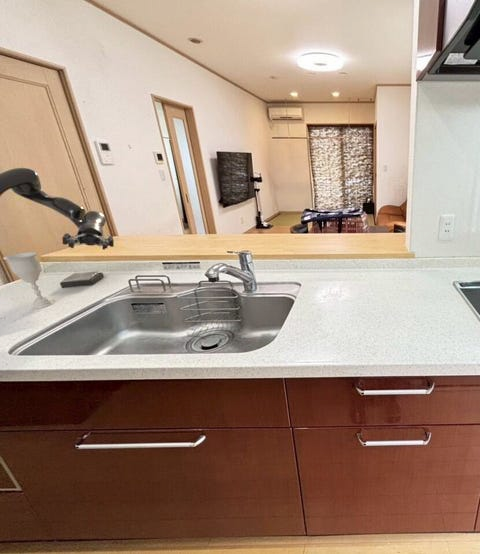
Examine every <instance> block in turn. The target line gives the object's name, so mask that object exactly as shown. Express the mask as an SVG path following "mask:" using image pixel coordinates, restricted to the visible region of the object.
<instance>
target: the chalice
mask: <svg viewBox="0 0 480 554" xmlns="http://www.w3.org/2000/svg"><path fill="white" fill-rule="evenodd" d="M2 259H3V260H5V262H7V263H8V266H9V268H10V269H11V272H12V274H14V275H15V276H16V277H18V278H19V279H20V280H22V281H23V282H25V283H28V284H29V283H30V284H31V289H32V290H33V294H34V295H36V298H35V299H34V300H33V302H32V303H33V304H32V309H42V308H47V307H50V306H51V305H53V304H54V301H52V300H51V299H50V298H49V297H46V296H42V295H41V293H42V291H41V290H39V285H37V284H36V282H37V281H38V280H39V279H40V274H41V266H40V263H39V261H38V259H37V252H34V251H33V252H21V253H15V254H9V255H7V256H3V257H2Z"/></svg>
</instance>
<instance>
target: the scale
mask: <svg viewBox="0 0 480 554" xmlns="http://www.w3.org/2000/svg"><path fill="white" fill-rule="evenodd" d="M104 277H105V276H104V273H103V272H101V271H99V270H96V271H95V270H94V271H85V272H74V273H72V274H70V275H69V276H66V277H65V278H64V279H62V280H61V281H60V282H59V285H60V287H61V289H66V288H77V287H78V288H79V287H87V286H94V285H96V284H97V283H98V282H99V281H101V280H103V278H104Z"/></svg>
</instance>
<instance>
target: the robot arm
mask: <svg viewBox="0 0 480 554" xmlns="http://www.w3.org/2000/svg"><path fill="white" fill-rule="evenodd" d="M9 190H11V191H12V192H13V193H15V195H18V196H20V197H21V198H25V199H27V200H29V201H32V202H34V203H37V204H39V205H41V206H44V207H47V208H49V209H51V210H53V211H55V212H56V213H59V214H60V215H62V216H63V217H66V218H67V219H68V220H70V222H72V223H73V224H74V225H75V226H76V228H78V230H77V233H76V234H75V235H71V234H70V233H68V232H67V233H64V235H63V236H62V239H61V240H62V241H61V242H62V245H64V246H66V245H68V248H71V249H75V246H83V245H86V246H89V247H90V246H91V247H93V246H98V247H101V248H102V250H104V251H105V250H106V249H108V247H111V248H113V247H115V245H114V243H115V241H114V237H113V236H112V235H110V236H107V237H104V230H103V229H104V226H105V225H106V223H107V218H106V215H104V214H103V213H101V212H99V211H96V210H89V211H87V212H86V209H85V208H84V207H82V206H81V205H79V204H77V203H75V202H74V201H73V200H70V199H68V198H66V197H61V196H52V195H50V194H48V193H46V192H45V190H43V189H42V184H41V180H40V177H39V174H38V173H37V172H36V171H35V170H33V169H31V168H27V167H16V168H15V167H14V168H10V169H8V170H5V171H3V172H0V197H2V195H3V194H5V193H6V192H7V191H9Z"/></svg>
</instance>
